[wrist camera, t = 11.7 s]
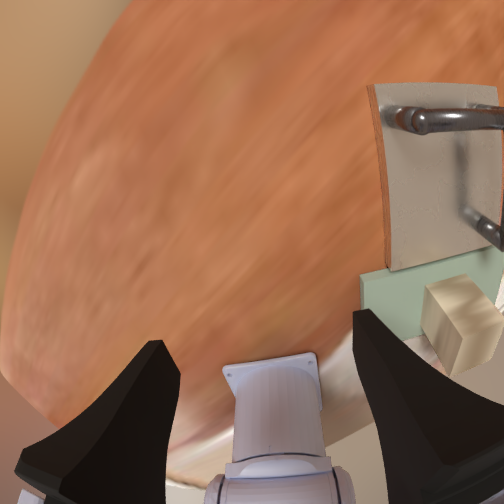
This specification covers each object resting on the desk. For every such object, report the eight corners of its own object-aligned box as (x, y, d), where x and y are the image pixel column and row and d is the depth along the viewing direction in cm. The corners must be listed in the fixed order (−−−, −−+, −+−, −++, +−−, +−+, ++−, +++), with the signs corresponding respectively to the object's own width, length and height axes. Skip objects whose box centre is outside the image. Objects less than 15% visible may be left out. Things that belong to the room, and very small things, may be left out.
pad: (488, 302, 22) (493, 308, 21) (360, 342, 23) (363, 351, 22) (501, 238, 18) (508, 243, 18) (359, 274, 20) (363, 282, 19)
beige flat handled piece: (487, 237, 18) (522, 266, 14) (385, 263, 20) (412, 303, 15) (486, 86, 13) (531, 90, 9) (366, 85, 14) (403, 80, 10)
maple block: (465, 273, 19) (506, 319, 13) (457, 311, 21) (490, 359, 15) (424, 285, 19) (462, 338, 14) (419, 324, 21) (449, 377, 16)
